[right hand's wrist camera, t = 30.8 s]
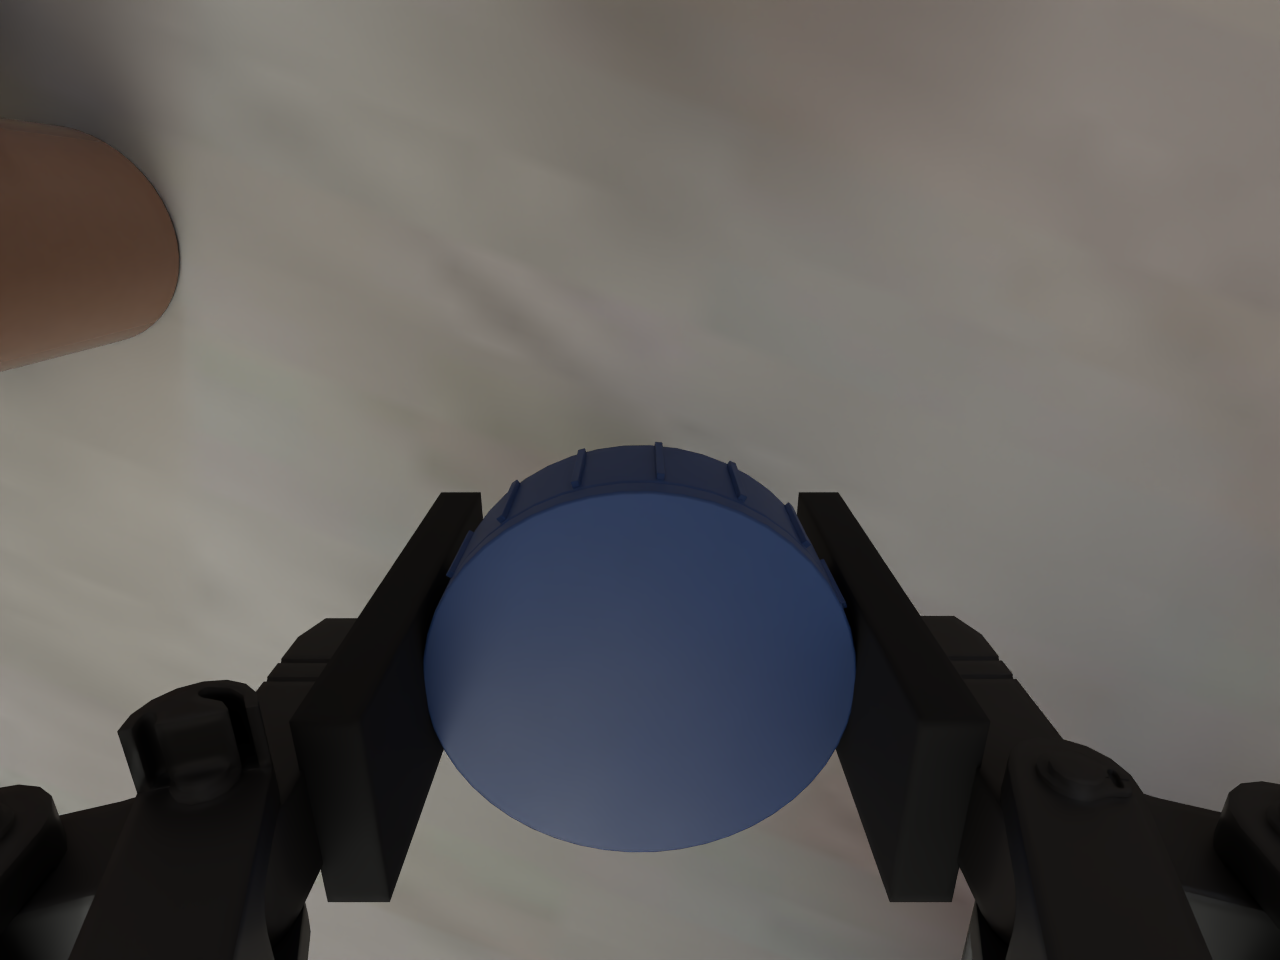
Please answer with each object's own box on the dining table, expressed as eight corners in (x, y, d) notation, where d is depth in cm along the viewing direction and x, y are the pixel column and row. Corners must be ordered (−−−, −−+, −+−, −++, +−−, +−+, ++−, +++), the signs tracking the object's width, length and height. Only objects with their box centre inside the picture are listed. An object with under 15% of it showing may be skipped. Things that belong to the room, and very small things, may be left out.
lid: (434, 740, 13) (401, 827, 11) (468, 405, 11) (435, 447, 9) (774, 790, 13) (795, 881, 12) (875, 477, 11) (919, 530, 9)
